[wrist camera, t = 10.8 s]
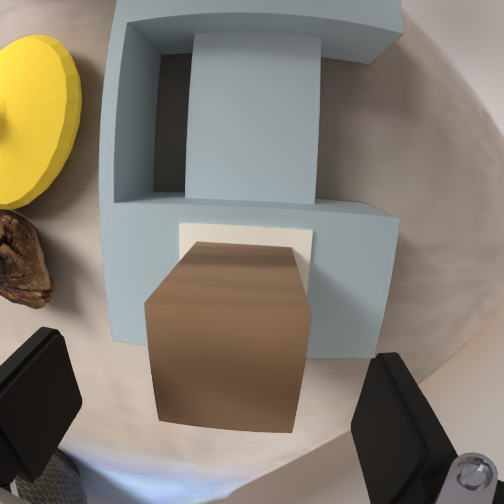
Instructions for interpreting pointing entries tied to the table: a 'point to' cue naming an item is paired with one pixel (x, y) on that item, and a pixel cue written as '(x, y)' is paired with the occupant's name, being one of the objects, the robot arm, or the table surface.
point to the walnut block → (229, 338)
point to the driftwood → (22, 263)
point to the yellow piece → (35, 116)
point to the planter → (54, 484)
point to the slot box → (241, 156)
